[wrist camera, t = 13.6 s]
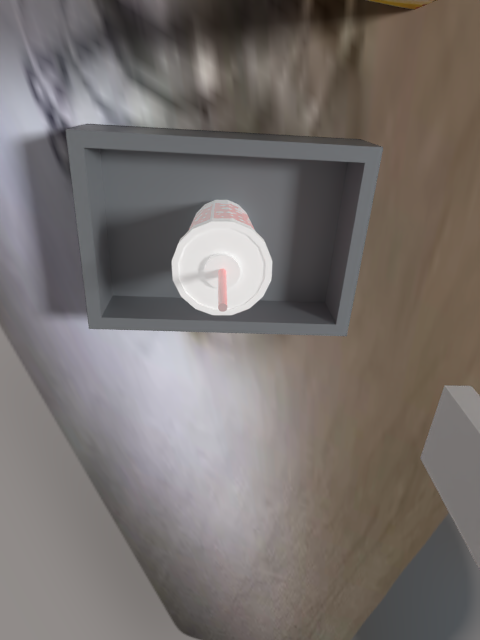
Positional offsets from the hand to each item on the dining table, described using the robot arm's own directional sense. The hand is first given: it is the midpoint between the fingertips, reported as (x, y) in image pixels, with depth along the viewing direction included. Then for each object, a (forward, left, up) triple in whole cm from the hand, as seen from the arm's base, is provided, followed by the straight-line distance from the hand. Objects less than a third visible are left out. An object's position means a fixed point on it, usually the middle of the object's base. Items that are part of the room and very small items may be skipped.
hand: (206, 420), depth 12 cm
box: (+2, +1, -25) cm, 25 cm away
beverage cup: (+1, +1, -24) cm, 24 cm away
